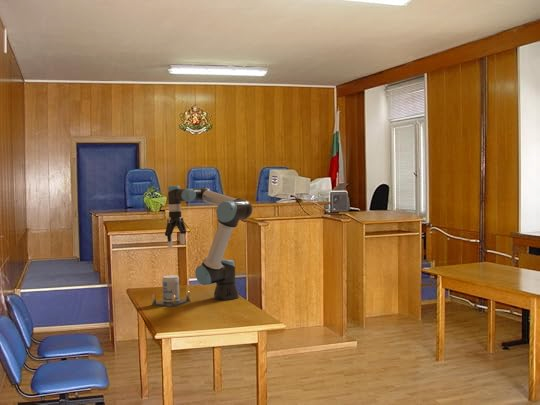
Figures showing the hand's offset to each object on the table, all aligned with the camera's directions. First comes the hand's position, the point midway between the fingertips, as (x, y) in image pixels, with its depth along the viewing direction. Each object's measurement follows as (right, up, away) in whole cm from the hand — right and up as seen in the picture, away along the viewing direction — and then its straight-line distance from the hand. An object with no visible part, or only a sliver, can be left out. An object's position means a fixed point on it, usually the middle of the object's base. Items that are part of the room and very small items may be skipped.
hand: (176, 245), depth 375 cm
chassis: (0, -33, -17) cm, 37 cm away
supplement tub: (0, -32, -17) cm, 36 cm away
